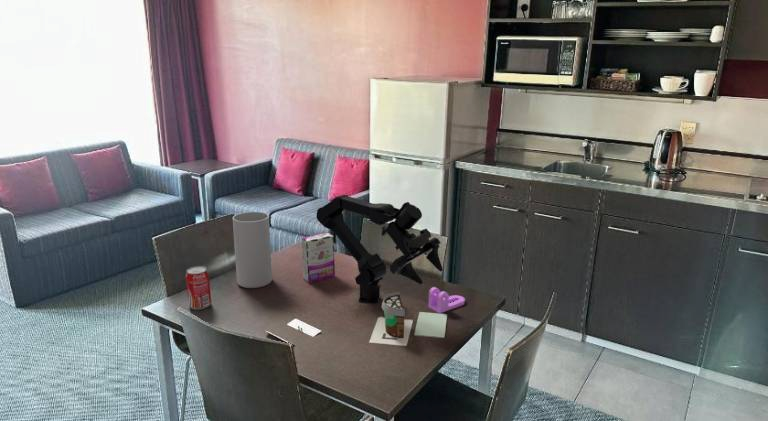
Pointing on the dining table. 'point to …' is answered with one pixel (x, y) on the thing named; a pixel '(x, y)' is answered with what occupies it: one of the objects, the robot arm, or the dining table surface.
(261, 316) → the dining table surface
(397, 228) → the robot arm
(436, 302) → the bracket
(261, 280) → the cylinder vase
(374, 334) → the pad
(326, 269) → the candy bar box
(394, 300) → the food container
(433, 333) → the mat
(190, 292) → the soda can
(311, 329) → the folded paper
